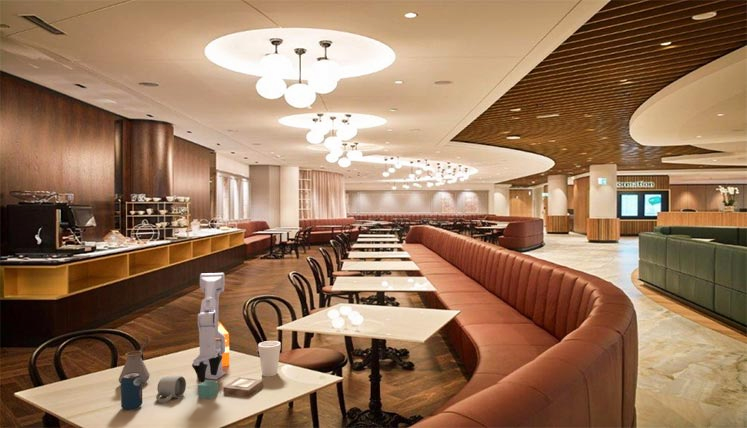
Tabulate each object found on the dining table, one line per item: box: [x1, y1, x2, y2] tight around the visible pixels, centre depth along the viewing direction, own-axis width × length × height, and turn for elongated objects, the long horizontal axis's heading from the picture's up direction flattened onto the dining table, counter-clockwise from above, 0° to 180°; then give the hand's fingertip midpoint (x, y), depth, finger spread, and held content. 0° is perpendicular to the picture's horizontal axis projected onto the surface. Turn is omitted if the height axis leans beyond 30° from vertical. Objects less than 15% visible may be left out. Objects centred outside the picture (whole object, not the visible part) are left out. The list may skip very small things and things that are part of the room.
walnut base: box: [223, 376, 264, 397], centre depth 192 cm, size 11×11×3 cm
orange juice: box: [215, 321, 230, 368], centre depth 222 cm, size 8×9×20 cm
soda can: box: [120, 372, 143, 412], centre depth 176 cm, size 7×7×12 cm
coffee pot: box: [118, 337, 151, 386], centre depth 203 cm, size 21×12×15 cm, turn 5°
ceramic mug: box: [155, 375, 187, 404], centre depth 185 cm, size 11×8×8 cm
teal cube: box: [197, 379, 219, 400], centre depth 187 cm, size 5×5×5 cm
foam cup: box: [257, 340, 282, 377], centre depth 210 cm, size 10×9×13 cm
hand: (207, 378), depth 186 cm, fingers open, 7 cm apart
